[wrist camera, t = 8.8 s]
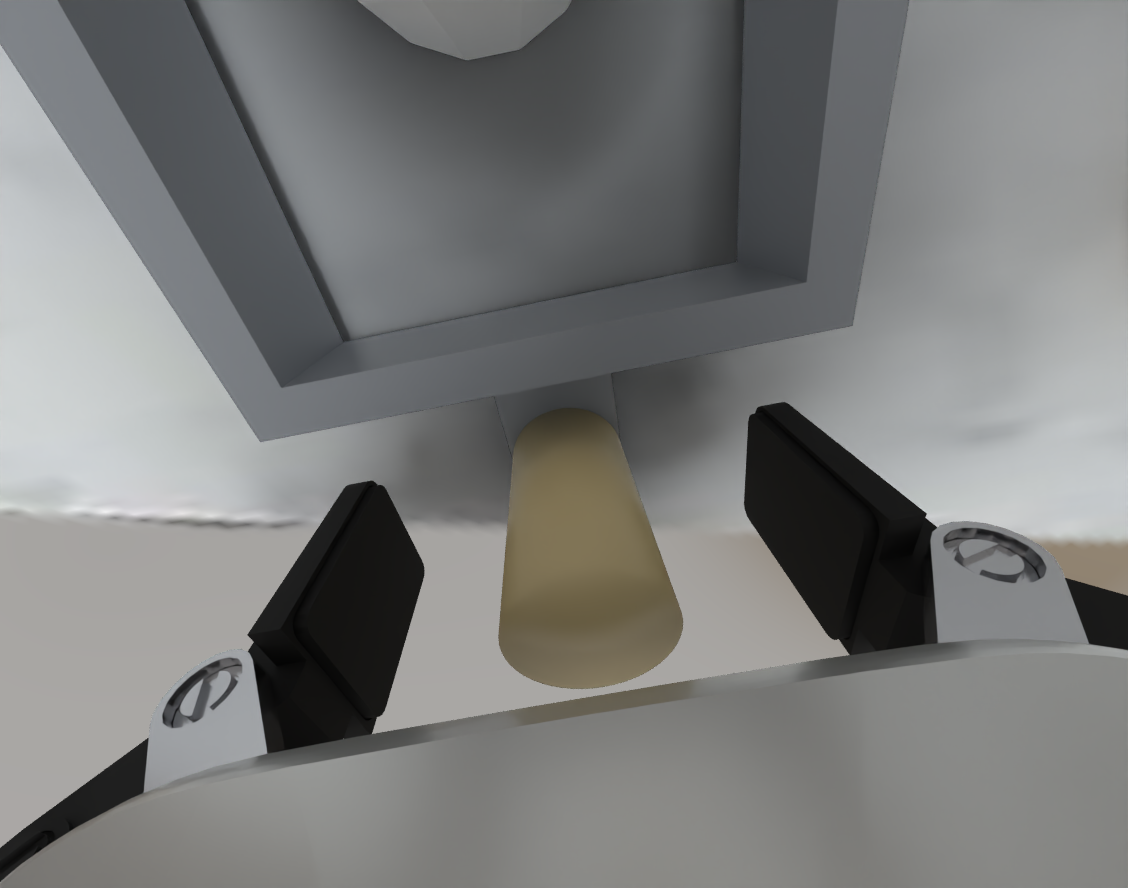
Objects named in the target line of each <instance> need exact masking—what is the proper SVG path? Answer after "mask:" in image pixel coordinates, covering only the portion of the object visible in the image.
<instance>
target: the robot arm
mask: <svg viewBox="0 0 1128 888" xmlns="http://www.w3.org/2000/svg"><path fill="white" fill-rule="evenodd" d="M744 507H745V511H746V514H747V517H748V518H749V520H750V521H751V523H752V524H753V526H754V527H755V529H756V530H757V532H758V533H759V535H760V536H761V538H762V539H763V541H764V542H765V544H766V545H767V546H768V548H769V549H770V551H771V552H772V554H773V555H774V557H775V558H776V560H777V561H778V563H779V564H780V566H781V567H782V568H783V570H784V572H785V573H786V574H787V576H788V577H789V579H790V580H791V582H792V583H793V585H794V586H795V588H796V589H797V591H798V592H799V594H800V595H801V596H802V598H803V600H804V601H805V603H806V604H807V605H808V607H809V608H810V610H811V611H812V613H813V614H814V616H815V617H816V619H817V620H818V621H819V623H820V624H821V626H822V628H823V629H824V630H825V632H826V633H827V634H828V636H829V637H830V638H832V639H834V640H837V639H839V640H840V641H841V643H842V644H843V646H844V647H845V649H846V650H847V652H848V653H849V654H850V655H848V656H841V657H834V658H827V659H820V660H814V661H808V662H801V663H796V664H789V665H783V666H777V667H770V668H765V669H759V670H752V671H746V672H740V673H733V674H727V675H721V676H715V677H708V678H703V679H696V680H690V681H684V682H677V683H672V684H665V685H659V686H653V687H647V688H641V689H635V690H630V691H623V692H617V693H611V694H605V695H599V696H593V697H587V698H581V699H575V700H569V701H564V702H557V703H551V704H546V705H539V706H533V707H528V708H522V709H516V710H509V711H503V712H498V713H492V714H486V715H480V716H474V717H468V718H463V719H457V720H451V721H446V722H440V723H434V724H428V725H422V726H416V727H411V728H405V729H399V730H393V731H387V732H382V733H376V734H372V732H373V729H374V725H375V722H376V719H377V717H379V716H381V715H382V714H383V712H384V711H385V708H386V705H387V701H388V698H389V695H390V691H391V688H392V684H393V681H394V678H395V674H396V671H397V667H398V664H399V660H400V657H401V654H402V650H403V647H404V643H405V640H406V636H407V633H408V630H409V626H410V623H411V619H412V616H413V613H414V609H415V606H416V602H417V599H418V595H419V592H420V589H421V585H422V582H423V578H424V565H423V562H422V560H421V558H420V556H419V554H418V552H417V550H416V548H415V546H414V544H413V542H412V540H411V538H410V536H409V534H408V532H407V530H406V528H405V526H404V524H403V522H402V520H401V518H400V516H399V514H398V512H397V510H396V508H395V506H394V504H393V502H392V500H391V498H390V496H389V494H388V492H387V490H386V489H385V487H384V486H382V485H377V484H376V483H375V482H374V481H367V482H362V483H356V484H351V485H347V486H346V487H345V488H344V490H343V491H342V493H341V494H340V496H339V497H338V499H337V500H336V502H335V503H334V505H333V506H332V508H331V509H330V511H329V512H328V514H327V515H326V517H325V518H324V520H323V521H322V523H321V524H320V526H319V527H318V529H317V530H316V532H315V533H314V535H313V537H312V538H311V540H310V541H309V542H308V544H307V546H306V547H305V549H304V550H303V552H302V553H301V555H300V556H299V558H298V559H297V561H296V562H295V564H294V565H293V567H292V568H291V570H290V571H289V573H288V574H287V576H286V577H285V579H284V580H283V582H282V584H281V585H280V586H279V588H278V589H277V591H276V592H275V594H274V596H273V597H272V598H271V600H270V602H269V603H268V605H267V606H266V608H265V609H264V611H263V612H262V614H261V615H260V617H259V618H258V620H257V621H256V623H255V624H254V626H253V627H252V629H251V630H250V632H249V633H248V636H249V637H250V638H251V639H252V640H253V641H254V643H253V644H252V646H251V648H250V649H249V651H248V652H247V651H244V650H242V649H237V650H229V651H226V652H222V653H219V654H216V655H214V656H213V657H211V658H209V659H207V660H205V661H203V662H201V663H200V664H199V665H197V666H196V667H194V668H193V669H192V670H190V671H189V672H187V673H186V674H185V675H184V676H183V677H182V678H181V679H180V680H178V681H177V682H176V683H175V684H174V685H173V686H172V687H171V689H170V690H169V691H168V692H167V693H166V694H165V696H164V697H163V698H162V699H161V701H160V703H159V704H158V706H157V708H156V709H155V711H154V713H153V716H152V720H151V723H150V730H149V738H147V739H146V740H145V741H143V742H142V743H141V744H139V745H138V746H137V747H135V748H134V749H133V750H131V751H130V752H128V753H127V754H126V755H124V756H123V757H122V758H120V759H119V760H117V761H116V762H115V763H113V764H112V765H111V766H109V767H108V768H106V769H105V770H104V771H102V772H101V773H100V774H98V775H97V776H96V777H94V778H93V779H92V780H90V781H89V782H87V783H86V784H85V785H83V786H82V787H80V788H79V789H78V790H77V791H75V792H74V793H72V794H71V795H69V796H68V797H67V798H65V799H64V800H63V801H61V802H60V803H59V804H57V805H56V806H54V807H53V808H52V809H50V810H49V811H48V812H46V813H45V814H44V815H42V816H41V817H39V818H38V819H37V820H35V821H34V822H33V823H32V824H30V825H29V826H27V827H26V828H24V829H23V830H22V831H21V832H19V833H18V834H17V835H16V836H14V837H13V838H12V839H11V840H10V841H9V842H7V843H6V844H5V845H4V846H2V847H1V848H0V888H1128V596H1127V595H1123V594H1120V593H1116V592H1113V591H1109V590H1106V589H1102V588H1099V587H1095V586H1092V585H1088V584H1085V583H1081V582H1078V581H1074V580H1071V579H1067V578H1065V577H1064V574H1063V571H1062V569H1061V567H1060V565H1059V564H1058V563H1057V561H1056V560H1055V558H1054V557H1053V556H1052V555H1051V554H1050V553H1049V552H1048V551H1046V550H1045V549H1044V548H1043V547H1042V546H1040V545H1039V544H1037V543H1035V542H1034V541H1032V540H1030V539H1028V538H1027V537H1025V536H1023V535H1020V534H1018V533H1015V532H1013V531H1010V530H1008V529H1005V528H1002V527H998V526H994V525H990V524H986V523H978V522H970V521H962V522H950V523H947V524H944V525H940V526H939V527H938V528H937V527H936V526H935V525H933V524H932V523H931V522H930V521H929V520H927V519H926V518H925V517H926V513H925V512H924V511H923V510H921V509H920V508H919V507H918V506H916V505H915V504H914V503H912V502H911V501H910V500H909V499H907V498H906V497H905V496H904V495H902V494H901V493H900V492H899V491H897V490H896V489H895V488H894V487H892V486H891V485H890V484H889V483H887V482H886V481H885V480H883V479H882V478H881V477H880V476H878V475H877V474H876V473H875V472H873V471H872V470H871V469H870V468H868V467H867V466H866V465H865V464H863V463H862V462H861V461H860V460H858V459H857V458H856V457H855V456H853V455H852V454H851V453H849V452H848V451H847V450H846V449H844V448H843V447H842V446H841V445H839V444H838V443H837V442H836V441H834V440H833V439H832V438H831V437H829V436H828V435H827V434H826V433H824V432H823V431H822V430H821V429H819V428H818V427H817V426H815V425H814V424H813V423H812V422H810V421H809V420H808V419H807V418H805V417H804V416H803V415H802V414H800V413H799V412H798V411H797V410H795V409H794V408H793V407H792V406H790V405H789V404H788V403H786V402H781V403H776V404H771V405H765V406H760V407H758V408H757V410H756V412H755V414H751V415H750V417H749V421H748V439H747V458H746V477H745V496H744ZM343 738H344V739H343Z"/></svg>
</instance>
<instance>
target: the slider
mask: <svg viewBox="0 0 1128 888" xmlns="http://www.w3.org/2000/svg"><path fill="white" fill-rule="evenodd" d="M908 5H909V0H745V1H744V35H743V69H742V103H741V137H740V171H739V205H738V239H737V262H733V263H728V264H724V265H719V266H714V267H709V268H704V269H699V270H694V271H689V272H684V273H680V274H675V275H670V276H665V277H660V278H655V279H650V280H645V281H640V282H636V283H631V284H626V285H621V286H616V287H611V288H606V289H601V290H596V291H591V292H587V293H582V294H577V295H572V296H567V297H562V298H557V299H552V300H547V301H543V302H538V303H533V304H528V305H523V306H518V307H513V308H508V309H503V310H499V311H494V312H489V313H484V314H479V315H474V316H469V317H464V318H459V319H454V320H450V321H445V322H440V323H435V324H430V325H425V326H420V327H415V328H410V329H406V330H401V331H396V332H391V333H386V334H381V335H376V336H371V337H366V338H362V339H357V340H352V341H347V342H343V340H342V338H341V336H340V334H339V332H338V329H337V327H336V325H335V323H334V321H333V319H332V317H331V314H330V312H329V310H328V308H327V306H326V304H325V301H324V299H323V297H322V295H321V293H320V291H319V289H318V286H317V284H316V282H315V280H314V278H313V276H312V274H311V271H310V269H309V267H308V265H307V263H306V261H305V259H304V256H303V254H302V252H301V250H300V248H299V246H298V243H297V241H296V239H295V237H294V235H293V233H292V231H291V228H290V226H289V224H288V222H287V220H286V218H285V216H284V213H283V211H282V209H281V207H280V205H279V203H278V200H277V198H276V196H275V194H274V192H273V190H272V188H271V185H270V183H269V181H268V179H267V177H266V175H265V173H264V170H263V168H262V166H261V164H260V162H259V160H258V158H257V155H256V153H255V151H254V149H253V147H252V145H251V142H250V140H249V138H248V136H247V134H246V132H245V130H244V127H243V125H242V123H241V121H240V119H239V117H238V115H237V112H236V110H235V108H234V106H233V104H232V102H231V100H230V97H229V95H228V93H227V91H226V89H225V87H224V84H223V82H222V80H221V78H220V76H219V74H218V72H217V69H216V67H215V65H214V63H213V61H212V59H211V57H210V54H209V52H208V50H207V48H206V46H205V44H204V41H203V39H202V37H201V35H200V33H199V31H198V29H197V26H196V24H195V22H194V20H193V18H192V16H191V14H190V11H189V9H188V7H187V5H186V3H185V1H184V0H0V45H1V46H2V48H3V49H4V51H5V52H6V54H7V55H8V57H9V58H10V60H11V61H12V63H13V64H14V66H15V67H16V69H17V71H18V72H19V74H20V75H21V77H22V78H23V80H24V81H25V83H26V84H27V86H28V87H29V89H30V90H31V92H32V93H33V95H34V97H35V98H36V100H37V101H38V103H39V104H40V106H41V107H42V109H43V110H44V112H45V113H46V115H47V116H48V118H49V120H50V121H51V123H52V124H53V126H54V127H55V129H56V130H57V132H58V133H59V135H60V136H61V138H62V139H63V141H64V142H65V144H66V146H67V147H68V149H69V150H70V152H71V153H72V155H73V156H74V158H75V159H76V161H77V162H78V164H79V165H80V167H81V168H82V170H83V172H84V173H85V175H86V176H87V178H88V179H89V181H90V182H91V184H92V185H93V187H94V188H95V190H96V191H97V193H98V195H99V196H100V198H101V199H102V201H103V202H104V204H105V205H106V207H107V208H108V210H109V211H110V213H111V214H112V216H113V217H114V219H115V221H116V222H117V224H118V225H119V227H120V228H121V230H122V231H123V233H124V234H125V236H126V237H127V239H128V240H129V242H130V243H131V245H132V247H133V248H134V250H135V251H136V253H137V254H138V256H139V257H140V259H141V260H142V262H143V263H144V265H145V266H146V268H147V270H148V271H149V273H150V274H151V276H152V277H153V279H154V280H155V282H156V283H157V285H158V286H159V288H160V289H161V291H162V292H163V294H164V296H165V297H166V299H167V300H168V302H169V303H170V305H171V306H172V308H173V309H174V311H175V312H176V314H177V315H178V317H179V319H180V320H181V322H182V323H183V325H184V326H185V328H186V329H187V331H188V332H189V334H190V335H191V337H192V338H193V340H194V341H195V343H196V345H197V346H198V348H199V349H200V351H201V352H202V354H203V355H204V357H205V358H206V360H207V361H208V363H209V364H210V366H211V367H212V369H213V371H214V372H215V374H216V375H217V377H218V378H219V380H220V381H221V383H222V384H223V386H224V387H225V389H226V390H227V392H228V394H229V395H230V397H231V398H232V400H233V401H234V403H235V404H236V406H237V407H238V409H239V410H240V412H241V413H242V415H243V416H244V418H245V420H246V421H247V423H248V424H249V426H250V427H251V429H252V430H253V432H254V433H255V435H256V436H257V438H258V439H259V441H260V442H263V441H269V440H274V439H279V438H284V437H289V436H294V435H299V434H304V433H309V432H314V431H319V430H325V429H330V428H335V427H340V426H345V425H350V424H355V423H360V422H365V421H370V420H375V419H381V418H386V417H391V416H396V415H401V414H406V413H411V412H416V411H421V410H426V409H431V408H437V407H442V406H447V405H452V404H457V403H462V402H467V401H472V400H477V399H482V398H487V397H493V396H494V398H495V402H496V405H497V409H498V412H499V415H500V419H501V422H502V425H503V429H504V432H505V436H506V439H507V442H508V446H509V449H510V453H511V456H512V459H513V463H512V476H511V488H510V500H509V513H508V525H507V537H506V550H505V563H504V575H503V587H502V599H501V611H500V624H499V625H500V626H499V646H500V649H501V652H502V654H503V656H504V657H505V659H506V660H507V662H508V663H509V664H510V665H511V666H512V667H513V668H514V669H515V670H517V671H518V672H519V673H521V674H522V675H524V676H526V677H528V678H530V679H532V680H534V681H537V682H540V683H542V684H546V685H550V686H555V687H560V688H570V689H588V688H599V687H605V686H610V685H615V684H618V683H622V682H625V681H628V680H631V679H633V678H636V677H638V676H640V675H642V674H644V673H646V672H647V671H649V670H651V669H653V668H654V667H655V666H657V665H658V664H660V663H661V662H662V661H663V660H664V659H665V658H666V657H667V656H668V655H669V654H670V653H671V652H672V651H673V649H674V648H675V646H676V645H677V643H678V641H679V639H680V636H681V633H682V629H683V618H682V613H681V610H680V607H679V604H678V601H677V599H676V596H675V593H674V590H673V587H672V585H671V582H670V579H669V576H668V573H667V571H666V568H665V565H664V563H663V560H662V557H661V554H660V551H659V549H658V546H657V543H656V540H655V537H654V535H653V532H652V529H651V526H650V523H649V521H648V518H647V515H646V512H645V510H644V507H643V504H642V501H641V498H640V496H639V493H638V490H637V487H636V485H635V482H634V479H633V476H632V473H631V471H630V468H629V465H628V462H627V460H626V457H625V454H624V451H623V448H622V446H621V443H620V435H619V428H618V420H617V412H616V405H615V397H614V390H613V382H612V374H611V373H615V372H620V371H625V370H630V369H635V368H640V367H645V366H650V365H655V364H660V363H666V362H671V361H676V360H681V359H686V358H691V357H696V356H701V355H706V354H711V353H716V352H722V351H727V350H732V349H737V348H742V347H747V346H752V345H757V344H762V343H767V342H772V341H778V340H783V339H788V338H793V337H798V336H803V335H808V334H813V333H818V332H823V331H828V330H834V329H839V328H844V327H849V326H852V325H853V320H854V314H855V308H856V302H857V297H858V291H859V285H860V280H861V274H862V268H863V262H864V257H865V251H866V245H867V240H868V234H869V228H870V222H871V217H872V211H873V205H874V200H875V194H876V188H877V182H878V177H879V171H880V165H881V160H882V154H883V148H884V143H885V137H886V131H887V125H888V120H889V114H890V108H891V103H892V97H893V91H894V85H895V80H896V74H897V68H898V63H899V57H900V51H901V45H902V40H903V34H904V28H905V23H906V17H907V11H908Z"/></svg>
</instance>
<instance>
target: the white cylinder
mask: <svg viewBox="0 0 1128 888" xmlns="http://www.w3.org/2000/svg"><path fill="white" fill-rule="evenodd" d="M357 1H358V2H360V3H361V4H362V5H363V6H365V7H366V8H367V9H369V10H370V11H371V12H372V13H374V14H375V15H376V16H377V17H379V18H380V19H381V20H382V21H384V22H385V23H386V24H387V25H389V26H390V27H391V28H392V29H394V30H395V31H396V32H397V33H399V34H400V35H401V36H403V37H404V38H405V39H406V40H408V41H409V42H410V43H412V44H415V45H419V46H422V47H425V48H428V49H431V50H435V51H438V52H441V53H444V54H447V55H451V56H454V57H457V58H460V59H463V60H472V59H477V58H482V57H487V56H492V55H496V54H501V53H506V52H511V51H516V50H520V49H522V48H523V47H524V46H525V45H526V44H527V43H529V42H530V41H531V40H532V39H533V38H535V37H536V36H537V35H538V34H539V33H540V32H542V31H543V30H544V29H545V28H546V27H548V26H549V25H550V24H551V23H552V22H553V21H555V20H556V19H557V18H558V17H559V16H561V15H562V14H563V13H564V12H565V11H566V10H567V9H568V7H569V5H570V3H571V1H572V0H357Z"/></svg>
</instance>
